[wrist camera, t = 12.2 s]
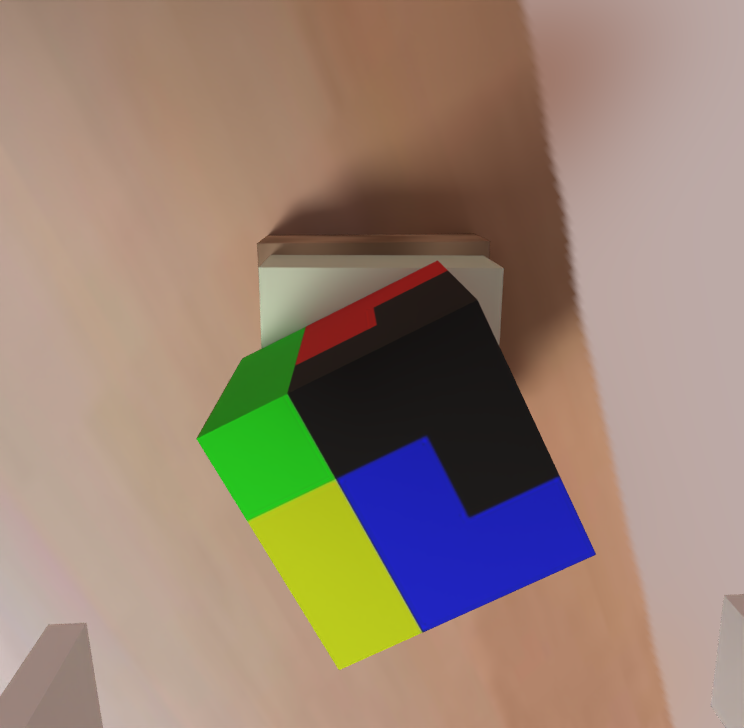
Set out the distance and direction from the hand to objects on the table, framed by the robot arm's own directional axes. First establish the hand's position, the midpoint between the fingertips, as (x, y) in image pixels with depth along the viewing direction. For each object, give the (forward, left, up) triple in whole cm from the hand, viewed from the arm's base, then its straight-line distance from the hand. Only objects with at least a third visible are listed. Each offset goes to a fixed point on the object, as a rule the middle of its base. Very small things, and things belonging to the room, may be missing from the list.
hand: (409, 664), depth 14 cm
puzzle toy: (+1, -1, -19) cm, 19 cm away
